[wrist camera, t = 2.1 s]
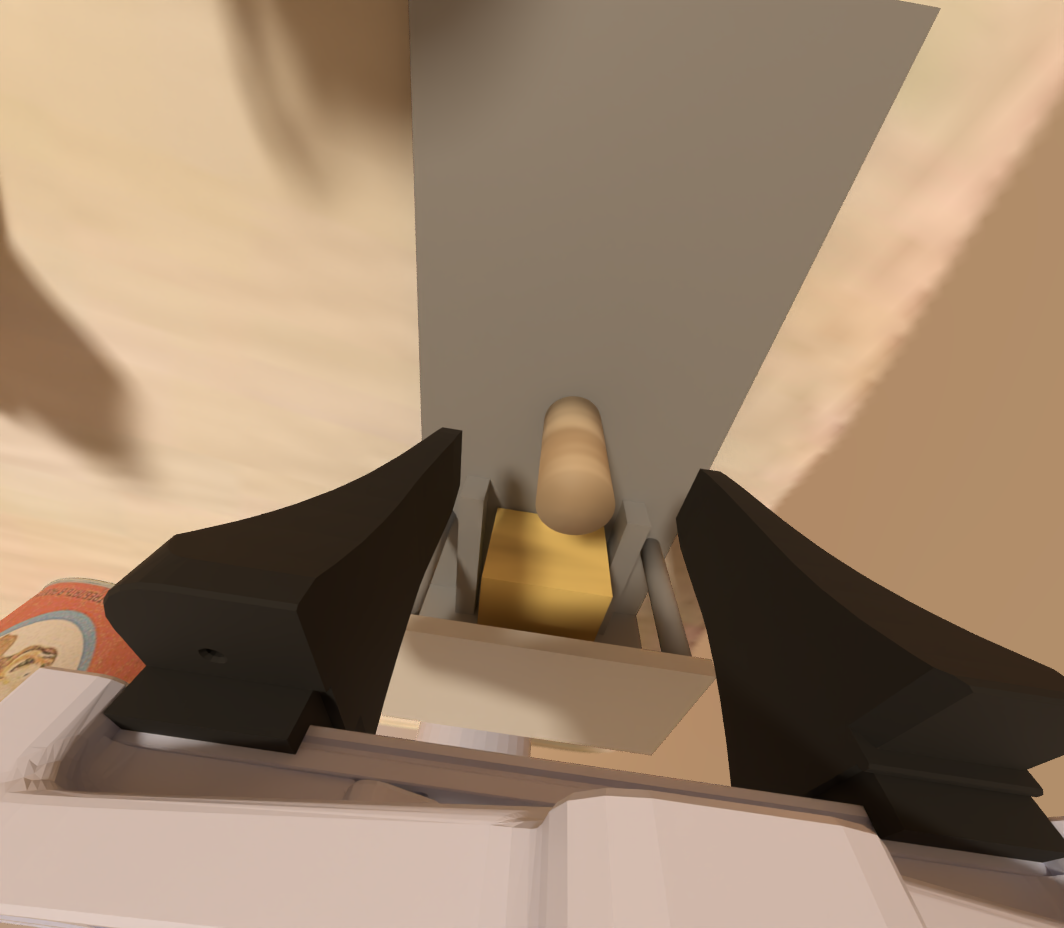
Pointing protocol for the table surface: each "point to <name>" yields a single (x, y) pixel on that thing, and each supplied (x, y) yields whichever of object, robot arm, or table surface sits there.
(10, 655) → the canned food
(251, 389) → the table surface
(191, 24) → the table surface
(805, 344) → the table surface
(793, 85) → the plate
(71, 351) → the table surface
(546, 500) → the yellow block
